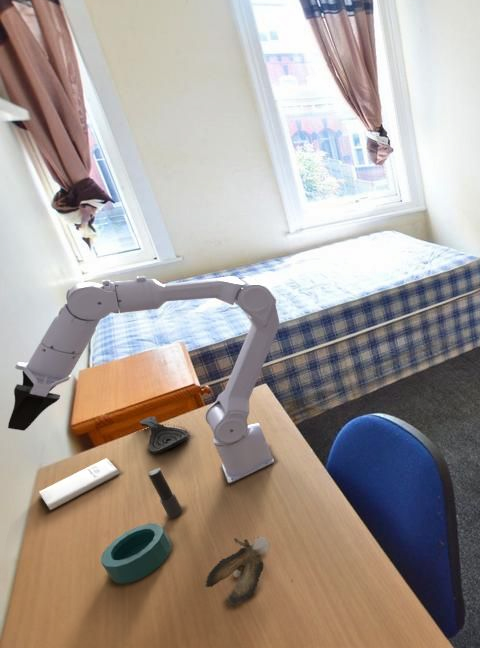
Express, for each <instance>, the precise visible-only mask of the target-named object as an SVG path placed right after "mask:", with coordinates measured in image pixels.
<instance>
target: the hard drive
mask: <svg viewBox="0 0 480 648" xmlns="http://www.w3.org/2000/svg"><path fill="white" fill-rule="evenodd" d="M118 475H120V472H119V470H118V468H117V467H116V466H115V465H114V464H113V463H112V462H111V461H110V460H109V459H108V458H107V457H105V458H103V459H101V460H100V461H98V462H95V463H93V464H92V465H89V466H87V467H86V468H84V469H81V470H79V471H78V472H76V473H75V472H74V474H71V475H69V476H67V477H65V478H63V479H61V480H59V481H57V482H55V483H54V484H53V483H52V484H51V485H50V486H48V487H47V486H46V488H43V489H42V490H39V491H38V493H39V495H40V497H41V499H42V500H43V502H44V503H45V504H46V506H47V507H48V509H49V510H50V511H53V510H54V509H56V508H58V507H60V506H62V505H64V504H65V503H68V502H70V501H71V500H73V499H75V498H77V497H78V496H81V495H82V494H84V493H87V492H88V491H90V490H92V489H94V488H96V487H97V486H100V485H101V484H103V483H106V482H107V481H109V480H111V479H113V478H114V477H116V476H118Z"/></svg>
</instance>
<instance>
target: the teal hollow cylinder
mask: <svg viewBox="0 0 480 648" xmlns="http://www.w3.org/2000/svg"><path fill="white" fill-rule="evenodd" d="M171 551H172V544H171V541H170V539H169V537H168V534H167V533H166V531H165V529H164V528H163V526H162V525H160V524H158V523H145V524H141V525H138V526H136V527H134V528H131V529H129V530H127V531H126V532H124V533H122V534H121V535H120V536H118V537H117V538H115V539H114V540H113V541H112V542H111V543H110V544H109V545H108V546H106V548H105V549H104V551H103V553H102V555H101V556H100V557H101V558H100V559H101V562H100V564H101V565H102V566H103V568H104V570H105V572H106V574H108V576H109V577H110V578H111V580H112V581H113V582H114V583H116V584H129V583H132V582H135V581H138V580H140V579H143V578H144V577H146V576H148V575H149V574H151V573H152V572H154V571H155V570H156V569H157V568H159V567H160V566H161V565H162V564H163V563H164V562H165V561H166V560H167V558H168V557H169V555H170V553H171Z"/></svg>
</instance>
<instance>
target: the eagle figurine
mask: <svg viewBox="0 0 480 648" xmlns="http://www.w3.org/2000/svg"><path fill="white" fill-rule="evenodd" d="M233 541H234V542H235V543H236V544H239V545H240V546H242V547H240V548H239V550H238V551H236V552H235V553H232V554H230V556H227V557H224V558H222V559H221V560H219V561H218V562H217V563H216V564H215V565H214V567H213V568H212V569H211V570H210V571H209V573H208V575H207V577H206V580H205V584H204V587H205V588H212V587H214V586H216V585H217V584H218V583H220V582H221V581H224V580H225V579H227V578H229V577H230V576H231V575H232V574H233V576H234V579H235V578H237V580H236V583H235V585H234V587H233V588H232V590H231V592H230V593H229V594H228V596H227V600H228V603H229V604H230V605H231V606H237V605H238V604H241V603H242V602H244V600H248V598H249V597H251V596H252V594H254V592H255V591H256V588H257V587H258V583H259V582H260V581H259V580H260V579H259V578H261V575H262V573H263V571H264V565H265V564H264V562H263V561H262V559H261V557H262V556H263V555H266V554H268V553H269V551H270V545H271V543H270V541H269V539H268V538H267V537H264V536H261V537H260V536H258V537H256V538H254V541H253V543H252V545H251V544H250V542H249V540H248V539H247V538H244V539H243V541H242V540H240V539H238V538H237V537H233Z"/></svg>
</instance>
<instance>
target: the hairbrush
mask: <svg viewBox="0 0 480 648" xmlns="http://www.w3.org/2000/svg"><path fill="white" fill-rule="evenodd" d="M139 425H141V427H147V428H149V429H150V434H149V441H148V444H147V445H148V449H149V451H150V453H151V454H153V455H157V454H162V453H164V452H165V451H167V450H169V449H171V448H173V447H175V446H177V445H179V444H181V443H183V442H184V441H186V440H188V439H190V437H191V434H190V432H188V430H187V428H185V427H183V426H179V425H176V427H172V425H173V424H168V426H166V425H167V424H166V423H165V424H160V423H159V422H158V421H157V418H156V416H149V417H145V418H143V419H142V420H141V421H139ZM169 425H171V427H169Z"/></svg>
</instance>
